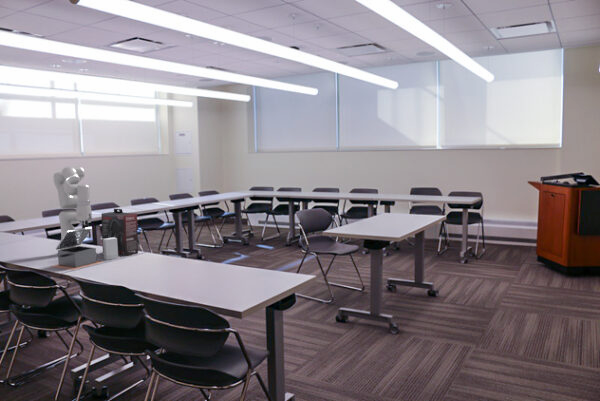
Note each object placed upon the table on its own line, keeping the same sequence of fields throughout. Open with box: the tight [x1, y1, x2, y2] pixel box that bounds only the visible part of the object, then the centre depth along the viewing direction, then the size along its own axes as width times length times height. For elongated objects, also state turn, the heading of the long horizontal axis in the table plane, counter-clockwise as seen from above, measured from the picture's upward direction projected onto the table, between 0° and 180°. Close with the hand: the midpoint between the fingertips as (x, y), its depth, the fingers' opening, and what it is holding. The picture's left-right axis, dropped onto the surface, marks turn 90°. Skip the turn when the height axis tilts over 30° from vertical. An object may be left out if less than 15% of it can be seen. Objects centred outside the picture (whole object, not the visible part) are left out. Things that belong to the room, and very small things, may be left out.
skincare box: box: [102, 237, 119, 261], centre depth 330 cm, size 8×6×15 cm
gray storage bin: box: [57, 245, 97, 268], centre depth 313 cm, size 16×24×10 cm
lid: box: [55, 226, 93, 251], centre depth 313 cm, size 17×18×3 cm
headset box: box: [100, 208, 139, 257], centre depth 349 cm, size 24×13×33 cm, turn 62°
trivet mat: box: [50, 260, 103, 271], centre depth 314 cm, size 21×24×1 cm
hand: (85, 230), depth 318 cm, fingers closed
